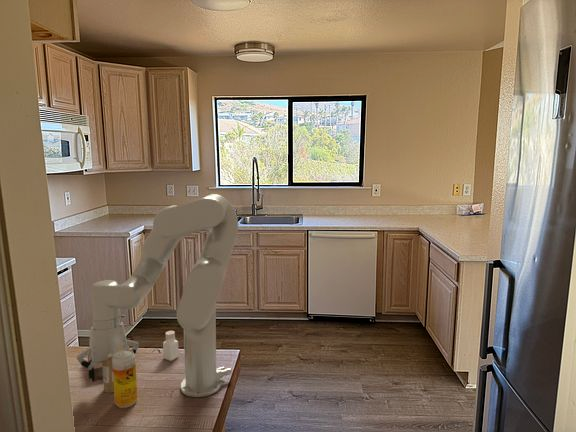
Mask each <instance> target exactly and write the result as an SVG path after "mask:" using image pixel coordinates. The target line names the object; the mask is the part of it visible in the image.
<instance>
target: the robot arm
mask: <svg viewBox="0 0 576 432" xmlns="http://www.w3.org/2000/svg"><path fill="white" fill-rule="evenodd" d="M205 230H208V232H207V236H206V238H205V241H204V243H203V244H204V245H203V248H202V250H201V252H200V255H199V257H198V259H197V260H196V263H195V264H194V265H193V266H192V268H191V270H190V272H189V274H188V277H187V279H186V282H185V285H184V289H183V291H182V294H181V297H180V300H179V303H178V305H177V308H176V319H177V322H178V324H179V325H180V327H181V328H183V348H184V349H183V351H184V373H185V374H184V376H185V377H184V379H183V380H182V381H181V383H180V392H181V393H182V394H183V395H185V396H187V397H190V398H191V397H192V398H203V397H208V396H211V395H213V394H215V393H216V392H219V390H220V389H221V388H222V386H223V385H222V384H223V379H222V378H223V377H224V376H229V375H231V374H233V373H232V368H231V367H229V368H225V367H224V366H220V367H217V339H216V338H217V331H216V329H217V327H216V325H217V323H216V322H217V321H216V319H217V317H216V316H217V301H218V298H219V295H220V292H221V290H222V287H223V285H224V284H223V283H224V281H225V278H226V274H227V269H228V264H229V262H230V259H231V256H232V254H233V250H234V246H235V244H236V242H237V241H236V240H237V237H238V231H239V220H238V215H237V213H236V210H235V209H234V206H233V205H232V204H231V202H230V201H229V200H227V199H226V197H224V196H223V195H220V194H216V193H211V194H208V195H205V196H203V197H201V198H198V199H196V200H192V201H188V202H185V203H182V204H179V205H176V204H175V205H173V204H172V205H169V206H166V207H164V208H162V209H161V210H159V211H158V212H157V213H156V214H155V216H154V218H153V220H152V229H150V232H149V234H148V235H147V237H146V239H145V241H144V242H143V244H142V246H141V250H140V251H141V257H140V259H139V262H138V264H137V266H136V267H135V269H134V271H133V272H132V273H131V276H130V277H129V278H128V279H127V280H125V281H124V282H122V283H120V284H119V283H118V281H116V280H113V279H104V280H99V281H96V282H95V283H93V284H92V285H91V288H90V289H91V290H90V291H91V294H90V295H91V307H92V308H91V309H92V310H91V311H92V324H93V326H91V328H90V330H89V347H88V348H87V349H85V350H84V351H82V352H80V353H79V354H77V355H76V360H77V361H78V363H80V365H81V366H82V367H84V368H85V369H87V371H88V373H87V374H88V379H89V380H90V379H91V382H92V383H95V381H96V380H95V376H94V367H93V366H94V365H95V364H96V362H101V361H105V360H108V358H109V357H108V355H109V354H110V353H112V354H113V356H114V354H115V353H116V352H118V351H121V350H127V345H128V346H129V347H132V348H130V350H132V351H133V352H134V354H135V355H136V353H137V351H138V349H139V346H140V343H139V342H138V341H134V340H129V339H127V334H126V330H125V329H126V328H125V324H124V322H123V321H124V320H126V319H127V316H126V314H122V313H121V310H133V309H135V308H137V307H138V306H139V305H140V304H141V303H142V302H143V301H144V299H145V298H146V297H147V296H148V295H149V293H150V292H151V290H152V289H153V287H154V286H155V284H156V282H157V280H158V279H159V277H160V275H161V273H162V271H163V270H164V268H165V267H166V265H167V264H168V261H169V260H170V258H171V256H172V254H173V253H174V252H175V249H176V247H177V246H178V244H179V243H180V241H181V239H182V238H183V237H184V236H185V237H186V236H188V235H191V234H195V233H199V232H203V231H205ZM88 354H90V357H91V359H90V360H89V361H88V360H86V359H85V358H86V357H88ZM113 356H111V357H112V358H113Z"/></svg>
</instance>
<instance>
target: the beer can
mask: <svg viewBox="0 0 576 432" xmlns="http://www.w3.org/2000/svg"><path fill="white" fill-rule="evenodd" d="M112 365H113V381H114V392H113V395H114V405H116V406H117V407H118V408H119V409H127V408H130V407H132V406H134V405H135V403H136V402H137V401H138V382H137V381H138V380H137V365H136V353H135V354H134V352H133V351H132V350H131V349H130V350H121V351H118V352H116V353H115V354H114V356H113V359H112Z"/></svg>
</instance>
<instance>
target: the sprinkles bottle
mask: <svg viewBox="0 0 576 432" xmlns="http://www.w3.org/2000/svg"><path fill="white" fill-rule="evenodd" d="M111 356H113V354H112V353H110V354H109V355H108V357H109V358H108V360H105V361H102V370H103V379H102V382H103V392H105V393H109V394H110V393H114V381H113V365H112V359H113V358H112V357H111Z"/></svg>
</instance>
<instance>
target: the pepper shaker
mask: <svg viewBox="0 0 576 432" xmlns="http://www.w3.org/2000/svg"><path fill="white" fill-rule="evenodd" d="M162 349H163V350H162V351H163V359H164V360H167V361H171V362H172V361H173V360H176V359H177V358H179V355H180V354H179V341H178V340H177V339H176V332H175V331H174V330H168V331H166V332H165V340H164V341H163V342H162Z"/></svg>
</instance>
